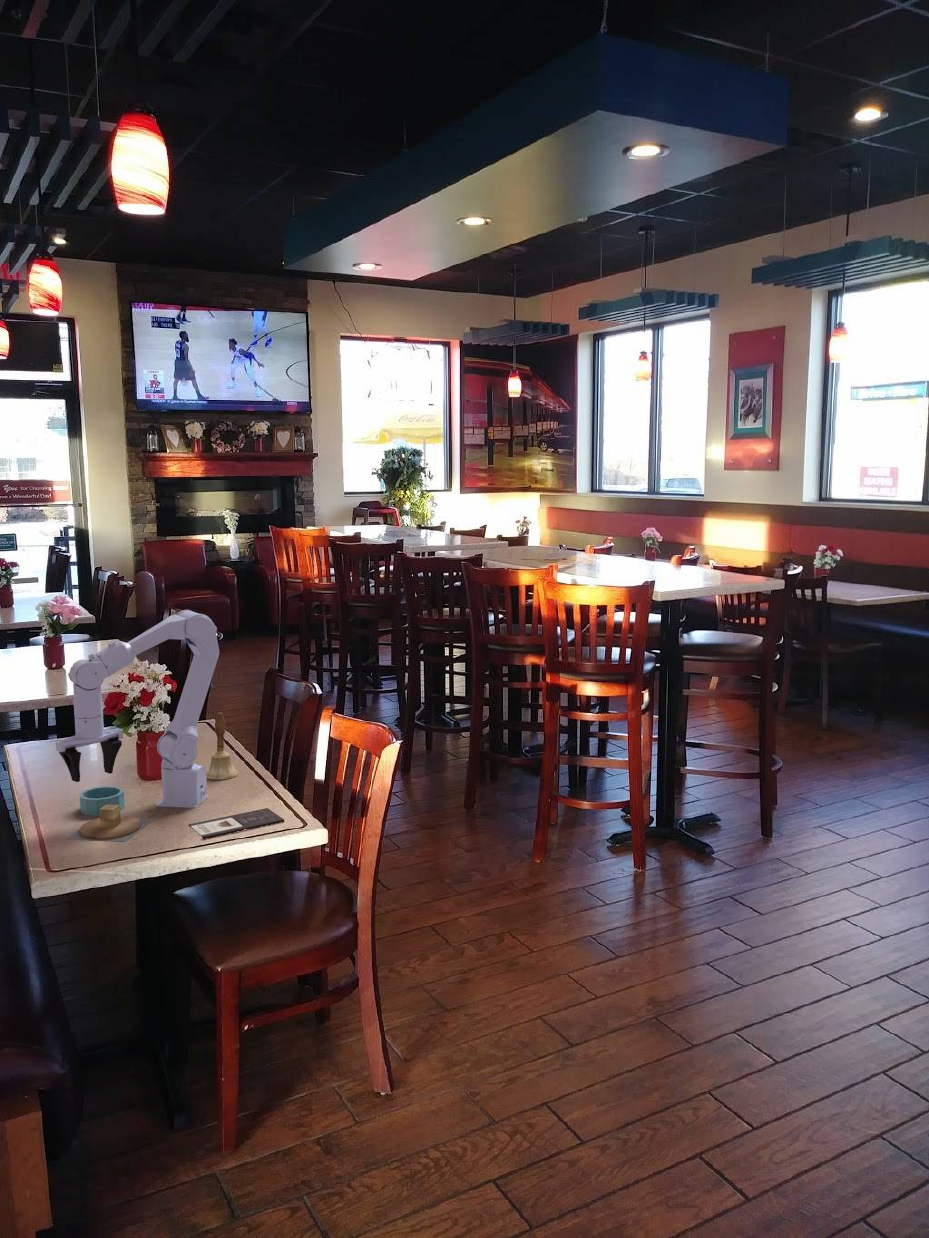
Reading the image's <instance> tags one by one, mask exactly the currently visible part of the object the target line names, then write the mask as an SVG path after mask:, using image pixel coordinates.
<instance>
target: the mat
mask: <svg viewBox="0 0 929 1238" xmlns="http://www.w3.org/2000/svg"><path fill="white" fill-rule="evenodd" d="M98 818H100V816H95V818H93V819H92V820H94V819H98ZM138 819H139V820H140V821H141V827H140V829H139V830H137V831H136V832H134V833H132V834H129V835H127V836H123V837H119V838H113V839H90V838H86V837H84V836H82V835H81V833H80V828H79V829H77V830H76V831H74V832H73V833H72V834H70V835H69V836H68V837H66V838H65V840H77V841H94V842H95V841H96V842H98V841H99V842H118V843H121V842H123V843H127V842H128V841H130V840H131V839H132V838H133V837H135V835H137V834H138V833H139V832H141V831H142V830H143V829H144V828H145V827H146V826H148V825H149V824H151V822H153V821H154V819H153V818H152V819H149V818H138Z"/></svg>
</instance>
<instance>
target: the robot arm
mask: <svg viewBox="0 0 929 1238" xmlns="http://www.w3.org/2000/svg"><path fill="white" fill-rule="evenodd" d="M217 631H218V627H217V626H216V625H215V622H213V620H212V619H211V618H210V617H209V616H208V615H206V614H204V613H203V614H202V613H199V612H195V611H192V610H190V609H184V610H181V611H179V612H177V613H176V614H172V615H169V616H168V617H166V618H164V619H163V620H162V621H160V622H159V623H157V624H156V625H154V626H152V627H150V628H149V629H147V630H145V631H144V632H142V633H141V634H139V635H138V636H136V637H134V638H133V639H131V640H129V641H128V642H125V641H121V640H118V641H116V642H115V641H113V640H112V641H110V642H108V643H107V647H105V648H103V649H101V650H99V651H98V652H96V653H94V654H93V653H90V654H88V655H87V657H88V659H79V660H76V661H75V662H74V663H73V664H72V666H71V667H70V669H69V672H68V673H67V675H68V678H69V680H70V682H71V683H72V685H73V686H72V688H73V697H72V698H73V699H72V700H73V710H74V729H75V735H73V736H70V737H67V738H64V739H62V740H61V739H60V740H57V741H55V750H56V751H57V752H58V753H59V756H61V757H62V760H63V761H64V763H65V765H66V767H67V769H68V772H69V774H70V778H71V781H73V782H75V783H79V782H81V771H80V770H81V769H80V763H81V762H80V761H81V757H82V752H80V751H78V749H77V748H82V747H87V746H89V745H93V744H98V743H99V744H100V747H101V751H102V759H103V770H104V773H107V774H113V771H114V767H115V761H116V758H117V756H118V753H119V751H120V749H121V748H122V745H123V742H122V740H121V739H124V729H122V728H118V727H117V728H111V729H105V727H104V726H105V724H104V723H105V722H104V709H103V706H104V705H103V693H102V685H103V684H104V682H105V680H106V679H108V678H109V677H111V676H113V675H115V674H116V673H119V672H120V671H122V670H124V669H125V668H127V667H129V666H130V665H132V664H133V663H134V661H135V659H136V656H137V655H139V654H141V653H143V652H146V651H147V650H149V649H151V648H153V647H155V646H157V645H159V644H161V643H163V642H166V641H167V640H179V641H180V640H184V641H185V642H186V643H187V645H188V647H189V649H190V650H191V652H192V653H193V657H192V660H191V664H190V665H189V670H188V673H187V676H186V680H185V683H184V686H183V689H182V692H181V694H180V695H181V696H180V698H179V701H178V704H177V708H176V711H175V713H174V714H175V715H174V718H173V720H172V721H171V722H170V723H168V724H167V726H166V729H165V731H164V733H163V734H162V735H161V736H160V737H159V739H158V741H157V745H156V749H157V752H158V754H159V755H160V756H161V758H162V761H161V764H160V766H161V767H160V768H161V786H162V787H161V789H162V791H161V792H162V799H161V800H160V801H159V802H157V803H156V804H155V807H166V808H167V807H169V808H191V809H195V808H197V807H199V805H201V804H202V803H203V802H204V801H205V800H207V799H208V798H209V795H208V791H207V790H208V787H207V785H208V780H207V778H206V772H207V770H206V767H205V766H203V765H200V764H196V763H195V761H196V758H197V756H198V746H197V744H198V739H199V735H198V729H197V727H198V723H199V720H200V719H199V718H200V716H201V713H202V710H203V707H204V704H205V700H206V697H207V695H208V691H209V688H210V686H211V685H210V684H211V682H212V678H213V675H214V673H215V669H216V665H217V663H218V659H219V657H220V656H219V655H220V647H219V642H218V637H217Z"/></svg>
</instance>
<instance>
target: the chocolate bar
mask: <svg viewBox="0 0 929 1238" xmlns="http://www.w3.org/2000/svg"><path fill="white" fill-rule="evenodd" d="M281 822H282V823H285V818H283V817H282V816H280V815H278V814H277V813H275V812H274V811H272V810H271V809H269V808H268V807H266V808H262V809H261V808H260V809H256V810H251V811H247V812H242V813H236V814H231V815H228V816H222V817H219V818H218V817H217V818H213V819H209V820H208V819H207V820H202V821H198V822H193V823H189V824H188V826H189V827H190V828H192V829H193V830H194V831H195V832H196V833H197V834H198V835H200V836H201V838H202V839H203V840H207V839H206V838H209V839H213V838H217V837H216V836H218V837H222V836H227V835H230V834H229V833H231V834H235V833H234V832H236V833H238V832H237V831H241V832H243V831H242V830H244V829H250V830H254V829H258V828H262V827H261V826H263V827H267V826H266V825H268V826H272V825H271V824H273V825H276V824H275V823H277V824H281ZM226 834H227V835H226ZM221 835H222V836H221ZM212 837H213V838H212Z"/></svg>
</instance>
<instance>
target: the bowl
mask: <svg viewBox="0 0 929 1238" xmlns="http://www.w3.org/2000/svg"><path fill="white" fill-rule="evenodd" d="M124 791H125V790H124V788H122V787H120V786H114V785H113V786H109V785H108V786H107V785H106V786H105V785H104V786H97V787H91V788H88V789H85V790H83V791H81V792H80V793H79V810H80V814H82V815H85V816H89V817H90V816H94V817H100V809H101V808H102V807H103V806H105V805H106V804H107V805H120V812H121V811H122V810H124V809H125V792H124Z"/></svg>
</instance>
